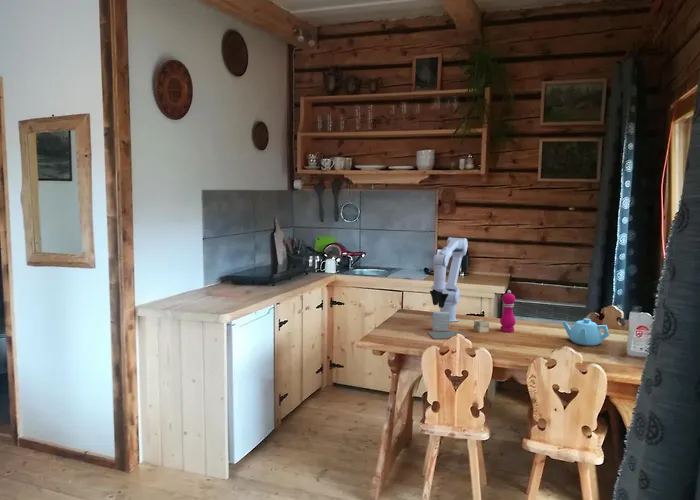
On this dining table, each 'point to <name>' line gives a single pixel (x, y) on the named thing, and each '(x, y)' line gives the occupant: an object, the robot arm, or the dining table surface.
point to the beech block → (481, 326)
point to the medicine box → (440, 321)
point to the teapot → (586, 332)
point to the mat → (443, 334)
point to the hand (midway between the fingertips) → (438, 306)
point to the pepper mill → (508, 313)
